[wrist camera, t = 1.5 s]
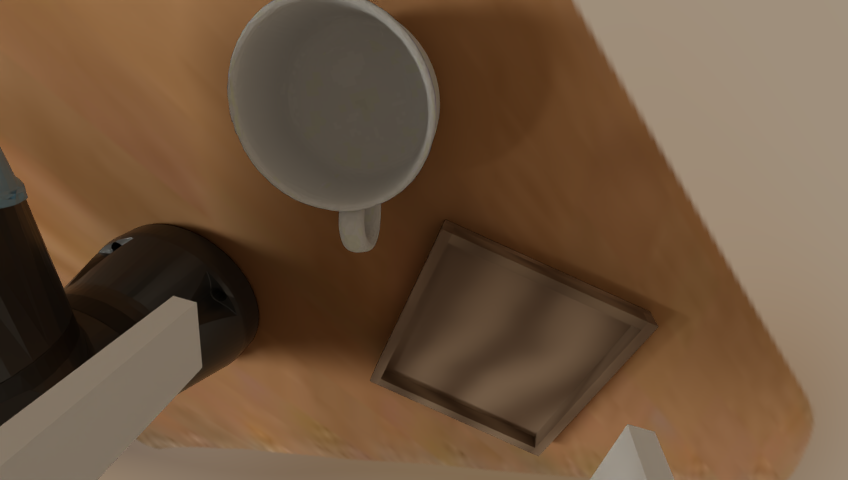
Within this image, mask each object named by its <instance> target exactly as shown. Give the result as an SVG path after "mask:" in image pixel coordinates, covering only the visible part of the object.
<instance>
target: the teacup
mask: <svg viewBox="0 0 848 480" xmlns="http://www.w3.org/2000/svg"><path fill="white" fill-rule="evenodd" d="M227 90H228V101H229V110H230V115H231V119H232V122H233V124H234V128H235V132H236V134H237V135H238V137H239V140H240V142H241V144H242V146H243V149H244V151H245V152H246V153H247V155H248V157H249V158H250V160H251V162H252V163H253V164H254V166H255V167H256V168H257V170H258V171H259V172H260V173H261V174H262V175H263V176H264V177H265V178H266V179H267V180H268V181H269V182H270V183H271V184H272V185H274V186H275V187H276V188H278V189H279V190H280V191H281V192H283V193H284V194H287V195H288V196H290V197H291V198H293V199H295V200H297V201H299V202H302V203H304V204H307V205H310V206H314V207H317V208H321V209H327V210H332V211H339V232H340V237H341V240H342V243H343V245H344V246H345V248H346V249H348V250H349V251H352V252H357V253H359V252H367V251H370V250H371V249H372V248H373V247H374V246H375V244H376V242H377V240H378V236H379V231H380V220H381V203H384V202H386V201H388V200H390V199H391V198H393V197H394V196H396V195H397V194H399V193H400V192H402V191H403V190H404V189H405V188H406V187H407V186H408V185H409V184H410V183H411V182H412V181H413V180H414V179H415V177H416V176H417V175H418V173H419V172H420V170H421V168H422V167H423V165H424V163H425V161H426V159H427V157H428V155H429V152H430V150H431V146H432V142H433V139H434V136H435V133H436V130H437V125H438V120H439V114H440V94H439V87H438V82H437V78H436V75H435V72H434V69H433V66H432V64H431V62H430V60H429V58H428V56H427V54H426V52H425V51H424V49H423V48H422V46H421V45H420V43H419V42H418V41H417V39H416V38H415V37H414V36H413V35H412V34H411V33H410V32H409V31H408V30H407V29H406V28H405V27H404V26H403V25H401V24H400V23H399V22H398V21H396V20H395V19H394V18H393V17H392V16H391V15H390V14H389V13H388V12H386V11H384V10H383V9H381V8H380V7H378V6H377V5H375V4H373V3H372V2H370V1H368V0H273V1H271V2H270V3H268V4H267V5H265V6H264V7H263V8H262V9H261V10H260V11H258V12H257V13H256V14H255V16H254V17H253V18H252V19H251V20H250V21H249V23H248V24H247V25H246V27H245V29H244V30H243V31H242V33H241V36H240V38H239V39H238V41H237V43H236V46H235V49H234V51H233V54H232V57H231V61H230V67H229V73H228V85H227Z"/></svg>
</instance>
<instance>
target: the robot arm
mask: <svg viewBox="0 0 848 480" xmlns="http://www.w3.org/2000/svg"><path fill="white" fill-rule="evenodd" d="M27 198H28V196H27V194H26V190H25V186H24V184H23V182H22V181H21V180H20V179H18V178H17V177H15V175H14V173H13V171H12V169H11V167H10V165H9V163H8V161H7V159H6V157H5V155H4V153H3V151H2V149H1V147H0V480H98V479H99V478H100V477H101V476H102V474H103V473H104V472H105V471H106V470H107V469H108V468H109V467H110V466H111V465H112V464H113V463H114V462H115V460H116V459H117V458H118V457H119V456H120V455H121V454H122V453H123V452H124V451H125V450H126V449H127V448H128V447H129V446H130V444H131V443H132V442H133V441H134V440H135V439H136V438H137V437H138V436H139V435H140V434H141V433H142V432H143V431H144V429H145V428H146V427H147V426H148V425H149V424H150V423H151V422H152V421H153V420H154V419H155V418H156V417H157V416H158V414H159V413H160V412H161V411H162V410H163V409H164V408H165V407H166V406H167V405H168V404H169V403H170V402H171V401H172V399H173V398H174V397H175V396H176V395H177V394H179V393H180V392H182V391H184V390H186V389H187V388H189V387H191V386H193V385H194V384H196V383H198V382H199V381H201V380H203V379H205V378H206V377H208V376H210V375H212V374H213V373H215V372H217V371H218V370H220V369H222V368H224V367H225V366H227V365H229V364H230V363H231V362H233V361H234V360H235V359H236V358H237V357H238V356H239V355H240V354H241V353H242V352H243V350H244V349H245V348H246V347H247V346H248V345H249V344H250V342H251V341H252V340H253V338H254V336H255V334H256V331H257V328H258V320H259V315H258V307H257V302H256V299H255V296H254V293H253V291H252V289H251V287H250V285H249V283H248V281H247V279H246V278H245V276H244V275H243V273H242V272H241V271H240V269H239V268H238V267H237V266H236V264H235V263H234V262H233V261H232V260H231V259H230V258H229V257H228V256H227V255H226V254H225V253H224V252H222V251H221V250H220V249H219V248H218V247H216V246H215V245H214V244H212V243H211V242H209V241H208V240H206V239H204V238H203V237H201V236H199V235H197V234H195V233H193V232H190V231H188V230H185V229H182V228H179V227H175V226H171V225H164V224H151V225H145V226H141V227H138V228H136V229H133V230H131V231H129V232H127V233H125V234H123V235H121V236H119V237H117V238H115V239H113V240H112V241H110V242H109V243H108V244H106V245H105V246H104V247H103V248H102V249H101V250H100V251H99V253H98V254H96V255H95V256H94V257H93V258H92V259H91V260H90V262H89V263H88V264H87V265H86V266H85V267H84V268H83V269H82V270H81V271H80V272H79V273H78V274H77V275H76V276H75V277H74V278H73V279H72V280H71V281H70V282H69V283H68V284H67V285H66V286H65V287H64V288H63V286H62V284H61V281H60V279H59V276H58V274H57V272H56V269H55V267H54V265H53V262H52V260H51V257H50V255H49V253H48V250H47V248H46V246H45V243H44V241H43V239H42V236H41V234H40V231H39V229H38V227H37V224H36V222H35V220H34V217H33V215H32V212H31V210H30V208H29V205H28V203H27V201H26V199H27ZM590 480H674V478H673V475H672V473H671V470H670V468H669V465H668V463H667V461H666V458H665V456H664V453H663V451H662V448H661V446H660V444H659V441H658V439H657V436H656V434H655V432H653V431H650V430H646V429H643V428H639V427H636V426H632V425H629V424H627V426H626V427H625V429H624V430H623V432H622V433H621V435H620V436H619V438H618V439H617V441H616V442H615V444H614V445H613V447H612V448H611V450H610V451H609V452H608V454H607V455H606V457H605V458H604V460H603V461H602V463H601V464H600V466H599V467H598V469H597V470H596V472H595V473H594V475H593V476H592V478H591V479H590Z"/></svg>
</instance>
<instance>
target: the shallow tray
mask: <svg viewBox="0 0 848 480" xmlns="http://www.w3.org/2000/svg"><path fill="white" fill-rule="evenodd" d="M657 328H658V325H657V323H656V322H655V320H654V318H653V316H652V314H651V313H650V312H649V311H647V310H645V309H643V308H640V307H638V306H636V305H634V304H631V303H629V302H627V301H625V300H623V299H620V298H618V297H616V296H614V295H612V294H609V293H607V292H605V291H603V290H600V289H598V288H596V287H594V286H592V285H589V284H587V283H585V282H583V281H580V280H578V279H576V278H574V277H572V276H569V275H567V274H565V273H563V272H561V271H558V270H556V269H554V268H552V267H549V266H547V265H545V264H543V263H541V262H538V261H536V260H534V259H532V258H530V257H527V256H525V255H523V254H521V253H518V252H516V251H514V250H512V249H510V248H507V247H505V246H503V245H501V244H499V243H496V242H494V241H492V240H490V239H487V238H485V237H483V236H481V235H479V234H476V233H474V232H472V231H470V230H468V229H465V228H463V227H461V226H459V225H456V224H454V223H452V222H450V221H448V220H445V221H444V224H443V226H442V228H441V230H440V232H439V234H438V236H437V238H436V240H435V243H434V245H433V247H432V249H431V251H430V253H429V255H428V257H427V259H426V262H425V264H424V266H423V268H422V270H421V272H420V274H419V276H418V278H417V281H416V283H415V285H414V287H413V289H412V291H411V293H410V295H409V297H408V300H407V302H406V304H405V306H404V308H403V310H402V312H401V314H400V316H399V319H398V321H397V323H396V325H395V327H394V329H393V331H392V333H391V335H390V338H389V340H388V342H387V344H386V346H385V348H384V350H383V352H382V354H381V357H380V359H379V361H378V363H377V365H376V367H375V370H374V372H373V374H372V377H371V379H370V381H371V382H373V383H375V384H378V385H380V386H382V387H384V388H387V389H389V390H391V391H393V392H396V393H398V394H400V395H402V396H404V397H407V398H409V399H411V400H413V401H416V402H418V403H420V404H422V405H425V406H427V407H429V408H431V409H434V410H436V411H438V412H440V413H443V414H445V415H447V416H449V417H451V418H454V419H456V420H458V421H460V422H463V423H465V424H467V425H469V426H472V427H474V428H476V429H478V430H481V431H483V432H485V433H487V434H490V435H492V436H494V437H496V438H499V439H501V440H503V441H505V442H507V443H510V444H512V445H514V446H516V447H519V448H521V449H523V450H525V451H528V452H530V453H532V454H534V455H537V456H539V455H540V454H541V453H542V452H543V451H544V450H545V449H546V448H547V447H548V446H549V445H550V443H551V442H552V441H553V440H554V439H555V438H556V437H557V436H558V435H559V434H560V433H561V432H562V431H563V429H564V428H565V427H566V426H567V425H568V424H569V423H570V422H571V421H572V420H573V419H574V418H575V416H576V415H577V414H578V413H579V412H580V411H581V410H582V409H583V408H584V407H585V406H586V405H587V404H588V402H589V401H590V400H591V399H592V398H593V397H594V396H595V395H596V394H597V393H598V392H599V391H600V389H601V388H602V387H603V386H604V385H605V384H606V383H607V382H608V381H609V380H610V379H611V378H612V377H613V375H614V374H615V373H616V372H617V371H618V370H619V369H620V368H621V367H622V366H623V365H624V364H625V362H626V361H627V360H628V359H629V358H630V357H631V356H632V355H633V354H634V353H635V352H636V351H637V350H638V348H639V347H640V346H641V345H642V344H643V343H644V342H645V341H646V340H647V339H648V338H649V337H650V335H651V334H652V333H653V332H654V331H655V330H656V329H657Z"/></svg>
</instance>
